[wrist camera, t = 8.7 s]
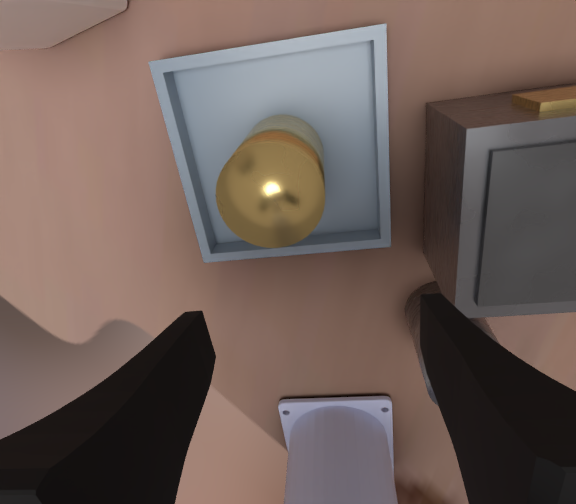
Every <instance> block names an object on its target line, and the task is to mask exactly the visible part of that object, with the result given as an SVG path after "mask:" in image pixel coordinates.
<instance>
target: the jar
mask: <svg viewBox="0 0 576 504" xmlns="http://www.w3.org/2000/svg"><path fill="white" fill-rule="evenodd" d="M126 8H127V0H0V50H23V49H47V48H50V47H52V46H54V45H56V44H58V43H60V42H62V41H64V40H66V39H68V38H70V37H72V36H74V35H76V34H78V33H80V32H82V31H84V30H86V29H88V28H90V27H92V26H94V25H96V24H98V23H100V22H102V21H104V20H106V19H108V18H110V17H113V16H115V15H117V14H119V13H121V12H123V11H124V10H125V9H126Z"/></svg>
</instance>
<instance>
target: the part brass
mask: <svg viewBox="0 0 576 504" xmlns="http://www.w3.org/2000/svg"><path fill="white" fill-rule="evenodd" d="M216 203H217V207H218V210H219V213H220V215H221V217H222V219H223V221H224V222H225V224H226V225H227V226H228V227H229V229H230V230H231V231H232V232H233V233H234V234H236V235H237V236H238V237H240V238H241V239H243V240H244V241H246V242H248V243H251V244H253V245H256V246H260V247H266V248H281V247H286V246H290V245H292V244H295V243H297V242H299V241H301V240H302V239H304V238H306V237H307V236H308V235H309V234H310V233H311V232H312V231H313V230H314V229H315V228H316V226H317V225H318V223H319V221H320V219H321V217H322V214H323V211H324V206H325V174H324V150H323V145H322V142H321V139H320V137H319V135H318V134H317V132H316V131H315V129H314V128H313V127H312V126H311V125H310V124H308V123H307V122H306V121H304V120H302V119H300V118H298V117H295V116H292V115H285V114H280V115H274V116H270V117H268V118H265V119H263V120H262V121H260V122H259V123H258V124H256V125H255V126H254V128H253V129H252V130H251V131H250V132H249V134H248V135H247V136H246V138H245V139H244V140H243V142H242V143H241V144H240V146H239V147H238V148H237V149H236V151H235V152H234V153H233V155H232V156H231V157H230V159H229V160H228V161H227V163H226V164H225V165H224V167H223V168H222V170H221V172H220V174H219V177H218V180H217V184H216Z"/></svg>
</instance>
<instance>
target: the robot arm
mask: <svg viewBox="0 0 576 504" xmlns="http://www.w3.org/2000/svg"><path fill="white" fill-rule="evenodd" d="M420 347H421V352H422V356H423V360H424V365H425V369H426V373H427V376H428V378H429V381H430V384H431V387H432V389H433V392H434V395H435V397H436V400H437V403H438V405H439V408H440V411H441V413H442V416H443V419H444V421H445V424H446V426H447V429H448V432H449V434H450V437H451V440H452V443H453V446H454V449H455V452H456V456H457V459H458V463H459V467H460V471H461V474H462V478H463V482H464V486H465V490H466V493H467V497H468V501H469V504H576V391H574V390H572V389H570V388H568V387H567V386H565V385H563V384H561V383H559V382H557V381H555V380H554V379H552V378H550V377H548V376H547V375H545V374H543V373H542V372H540V371H538V370H537V369H535V368H534V367H532V366H530V365H529V364H527V363H526V362H524V361H523V360H521V359H519V358H518V357H516V356H515V355H514V354H512V353H511V352H509V351H508V350H507V349H505V348H504V347H503V346H501V345H500V344H498V343H497V342H496V341H494V340H493V339H492V338H491V337H489V336H488V335H487V334H486V333H485V332H483V331H482V330H481V329H480V328H479V327H477V326H476V325H475V324H474V323H473V322H472V321H470V320H469V319H468V318H467V317H466V316H465V315H464V314H463V313H462V312H460V311H459V310H458V309H457V308H456V307H455V306H454V305H453V304H452V303H451V302H450V301H449V300H448V299H447V298H445V297H444V296H443V295H442V294H441V293H435V294H421V295H420ZM215 359H216V355H215V352H214V348H213V345H212V342H211V338H210V335H209V332H208V329H207V325H206V322H205V319H204V315H203V312H202V311H191V312H185V313H183V314H182V315H181V316H180V317H178V318H177V319H176V320H175V321H174V322H173V323H172V324H171V325H169V326H168V327H167V328H166V329H165V330H164V331H163V332H162V333H161V334H159V335H158V336H157V337H156V338H155V339H154V340H153V341H152V342H151V343H150V344H148V345H147V346H146V347H145V348H144V349H143V350H141V352H139V353H138V354H137V355H136V356H134V357H133V358H132V359H131V360H129V361H128V362H127V363H126V364H125V365H123V366H122V367H121V368H120V369H118V370H117V371H116V372H114V373H113V374H112V375H111V376H109V377H108V378H106V379H105V380H104V381H102V382H101V383H99V384H98V385H97V386H95V387H94V388H92V389H91V390H89V391H88V392H86V393H85V394H83V395H81V396H80V397H78V398H77V399H75V400H74V401H72V402H70V403H68V404H67V405H65V406H64V407H62V408H61V409H59V410H57V411H55V412H54V413H52V414H50V415H48V416H46V417H44V418H43V419H41V420H39V421H37V422H35V423H33V424H31V425H29V426H27V427H26V428H24V429H22V430H20V431H17V432H15V433H13V434H11V435H10V436H7V437H5V438H3V439H1V440H0V504H175V500H176V495H177V491H178V486H179V482H180V477H181V474H182V469H183V465H184V461H185V457H186V454H187V450H188V447H189V444H190V441H191V438H192V436H193V433H194V430H195V427H196V424H197V421H198V419H199V416H200V413H201V410H202V407H203V404H204V402H205V399H206V396H207V392H208V390H209V387H210V384H211V379H212V375H213V370H214V364H215ZM384 407H386V408H384ZM278 409H279V413H280V418H281V422H282V427H283V432H284V436H285V441H286V445H287V450H288V463H287V475H286V486H285V498H284V504H398V502H397V495H396V489H395V483H394V460H393V421H392V401H391V398H390V397H388V396H363V397H334V398H305V399H283V400H281V401H280V402H279V405H278ZM285 410H287V411H285Z"/></svg>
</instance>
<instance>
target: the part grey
mask: <svg viewBox="0 0 576 504" xmlns="http://www.w3.org/2000/svg"><path fill="white" fill-rule="evenodd" d="M435 293H441V294H442V292H441V290H440V288H439V286H438V283H437V281H434V282H430V283H428V284H425V285H423V286H421V287H420V288H418V289H417V290H415V291H414V292H413V293H412V294H411V296H410V297H409V299H408V301H407V303H406V307H405V314H406V318H407V322H408V325H409V328H410V332H411V335H412V339H413V342H414V346H415V349H416V352H417V356H418V359H419V363H420V366H421V370H422V373H423V377H424V380H425V383H426V387H427V390H428V394H429V396H430V398H431V399H432V401H433V402H434V403H435V404H437V405H438V403H437V400H436V397H435V395H434V392H433V389H432V387H431V384H430V381H429V378H428V376H427V373H426V369H425V365H424V360H423V356H422V352H421V347H420V295H421V294H435ZM442 295H443V294H442ZM468 319H469V320H470V321H472V322H473V323H474V324H475V325H476V326H477V327H479V328H480V329H481V330H482V331H483V332H485V333H486V334H487V335H488V336H489V337H491V338H492V339H493V340H494V341H496V342H497V343H498V344H499V342H498V341H497V339H496V337H495V335H494V334H493V332H492V330H491V328H490V327H489V325H488V323H487V321H486V320H485V318H484V317H481V318H468ZM438 406H439V405H438Z"/></svg>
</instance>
